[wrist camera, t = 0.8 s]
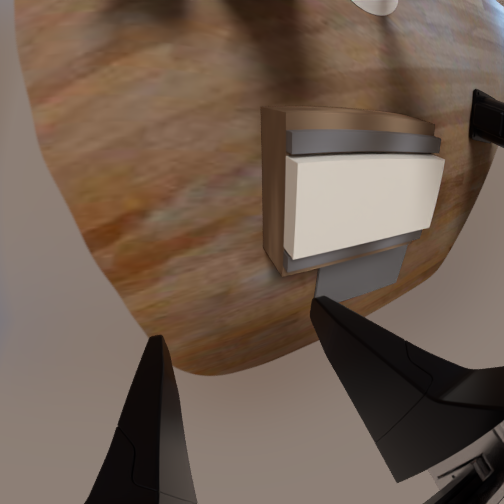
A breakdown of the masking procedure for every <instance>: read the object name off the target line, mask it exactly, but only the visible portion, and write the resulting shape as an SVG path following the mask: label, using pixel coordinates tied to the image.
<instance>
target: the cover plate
mask: <svg viewBox="0 0 504 504" xmlns="http://www.w3.org/2000/svg"><path fill="white" fill-rule="evenodd" d="M444 163H445V160H444V159H442V158H440V157H438V156H435V155H433V154H428V153H400V152H355V153H326V154H308V155H294V156H286V175H285V219H284V248H285V250H286V251H287V252H288V254H289V255H290V256H291V258H292V259H293V260H294V259H299V258H303V257H308V256H312V255H316V254H321V253H325V252H329V251H334V250H338V249H342V248H347V247H351V246H355V245H359V244H364V243H368V242H372V241H376V240H380V239H384V238H389V237H393V236H397V235H401V234H405V233H409V232H413V231H417V230H421V229H425V228H429V227H430V223H431V220H432V216H433V212H434V209H435V205H436V201H437V196H438V192H439V188H440V183H441V178H442V173H443V168H444Z"/></svg>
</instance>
